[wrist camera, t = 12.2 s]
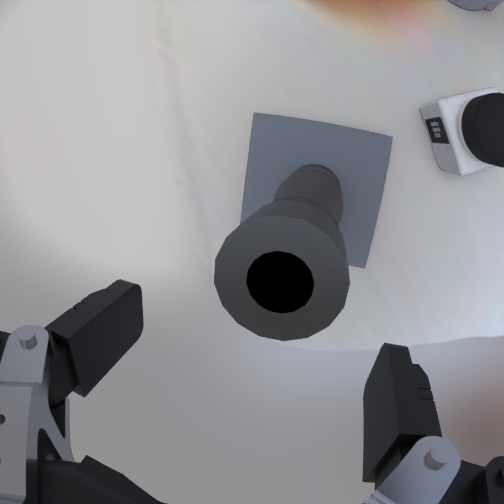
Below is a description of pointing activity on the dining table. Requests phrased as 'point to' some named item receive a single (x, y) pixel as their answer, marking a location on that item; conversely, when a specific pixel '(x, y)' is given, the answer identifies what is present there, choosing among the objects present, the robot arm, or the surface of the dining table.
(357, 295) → the dining table surface
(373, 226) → the mat
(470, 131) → the container
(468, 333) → the dining table surface
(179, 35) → the dining table surface
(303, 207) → the candle holder
